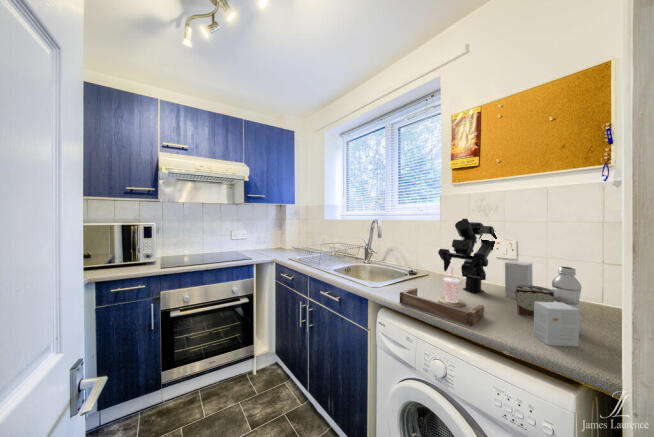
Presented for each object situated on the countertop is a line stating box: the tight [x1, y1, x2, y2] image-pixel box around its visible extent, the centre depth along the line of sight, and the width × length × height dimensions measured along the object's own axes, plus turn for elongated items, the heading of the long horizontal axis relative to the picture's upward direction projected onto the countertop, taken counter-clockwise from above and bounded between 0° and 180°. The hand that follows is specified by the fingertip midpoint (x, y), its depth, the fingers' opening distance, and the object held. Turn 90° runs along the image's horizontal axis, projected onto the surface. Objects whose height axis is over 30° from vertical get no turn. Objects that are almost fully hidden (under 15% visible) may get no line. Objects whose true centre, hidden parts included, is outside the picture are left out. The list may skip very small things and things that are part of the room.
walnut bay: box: [399, 286, 485, 327], centre depth 92 cm, size 11×27×4 cm, turn 39°
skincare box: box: [504, 260, 534, 300], centre depth 104 cm, size 8×7×16 cm
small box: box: [533, 302, 580, 348], centre depth 69 cm, size 8×6×10 cm
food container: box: [513, 284, 554, 318], centre depth 88 cm, size 12×6×10 cm, turn 71°
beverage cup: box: [443, 266, 461, 303], centre depth 99 cm, size 6×6×14 cm
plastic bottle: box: [551, 266, 582, 333], centre depth 74 cm, size 6×7×20 cm
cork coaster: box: [437, 296, 466, 308], centre depth 99 cm, size 10×10×1 cm
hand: (455, 272), depth 101 cm, fingers open, 9 cm apart
